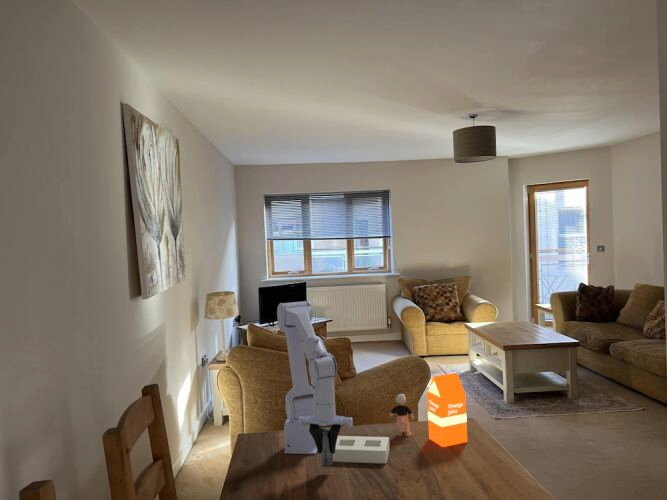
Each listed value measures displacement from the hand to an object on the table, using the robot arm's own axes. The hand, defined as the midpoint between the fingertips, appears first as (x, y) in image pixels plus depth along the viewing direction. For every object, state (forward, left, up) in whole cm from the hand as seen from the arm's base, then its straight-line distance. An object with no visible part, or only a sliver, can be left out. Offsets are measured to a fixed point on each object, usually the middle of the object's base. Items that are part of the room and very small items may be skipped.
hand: (326, 452), depth 141 cm
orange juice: (+32, +25, -6) cm, 41 cm away
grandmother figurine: (+18, +29, -6) cm, 35 cm away
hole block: (+7, +12, -6) cm, 15 cm away
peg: (0, 0, -3) cm, 3 cm away
